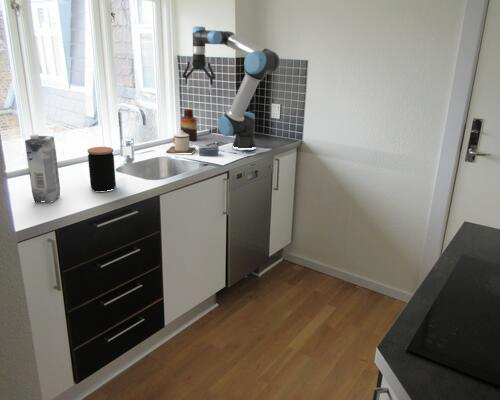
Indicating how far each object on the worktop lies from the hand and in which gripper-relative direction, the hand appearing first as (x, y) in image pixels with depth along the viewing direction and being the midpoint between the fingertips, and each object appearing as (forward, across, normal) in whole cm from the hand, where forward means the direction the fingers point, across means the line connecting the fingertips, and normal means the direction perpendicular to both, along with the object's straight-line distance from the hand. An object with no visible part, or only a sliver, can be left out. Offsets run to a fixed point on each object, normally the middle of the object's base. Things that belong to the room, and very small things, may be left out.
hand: (199, 89), depth 272 cm
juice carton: (+35, +43, +113) cm, 126 cm away
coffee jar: (+35, +26, +96) cm, 105 cm away
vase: (+35, +9, -11) cm, 38 cm away
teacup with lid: (+34, +8, +21) cm, 41 cm away
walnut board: (+35, +7, +21) cm, 41 cm away
